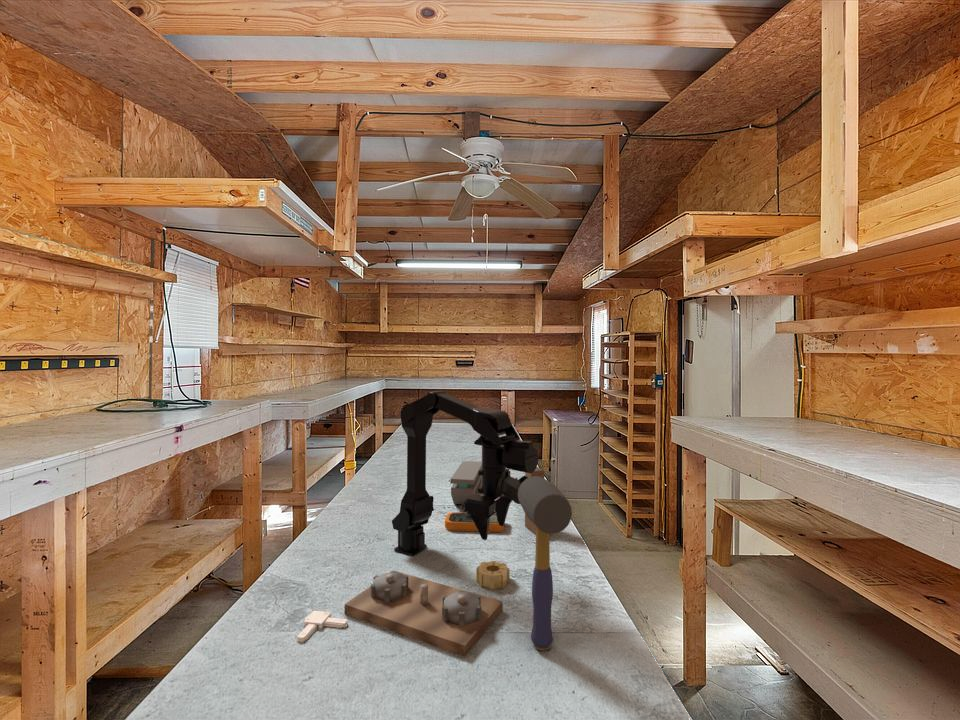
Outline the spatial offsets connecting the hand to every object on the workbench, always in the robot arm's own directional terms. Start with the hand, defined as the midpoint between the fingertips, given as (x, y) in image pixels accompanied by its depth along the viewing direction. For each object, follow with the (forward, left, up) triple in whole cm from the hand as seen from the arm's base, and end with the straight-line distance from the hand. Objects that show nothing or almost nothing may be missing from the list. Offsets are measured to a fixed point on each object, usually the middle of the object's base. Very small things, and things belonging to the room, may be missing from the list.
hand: (493, 532), depth 106 cm
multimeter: (-19, +27, -12) cm, 35 cm away
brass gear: (0, 0, -11) cm, 11 cm away
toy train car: (-33, +48, -12) cm, 59 cm away
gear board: (-7, -18, -11) cm, 23 cm away
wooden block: (-1, +33, -12) cm, 35 cm away
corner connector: (-21, -32, -12) cm, 40 cm away
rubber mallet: (+18, -17, -12) cm, 27 cm away
